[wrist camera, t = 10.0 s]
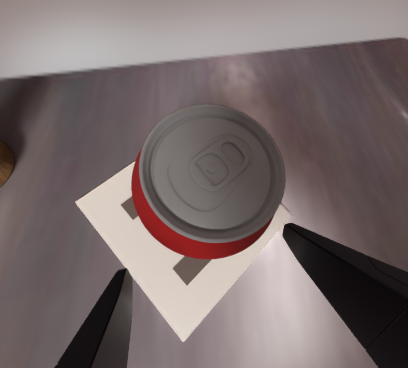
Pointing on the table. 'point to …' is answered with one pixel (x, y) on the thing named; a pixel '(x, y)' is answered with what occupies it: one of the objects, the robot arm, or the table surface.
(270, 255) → the table surface
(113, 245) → the letter mat
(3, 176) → the brown knobbed pedestal
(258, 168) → the beverage can
